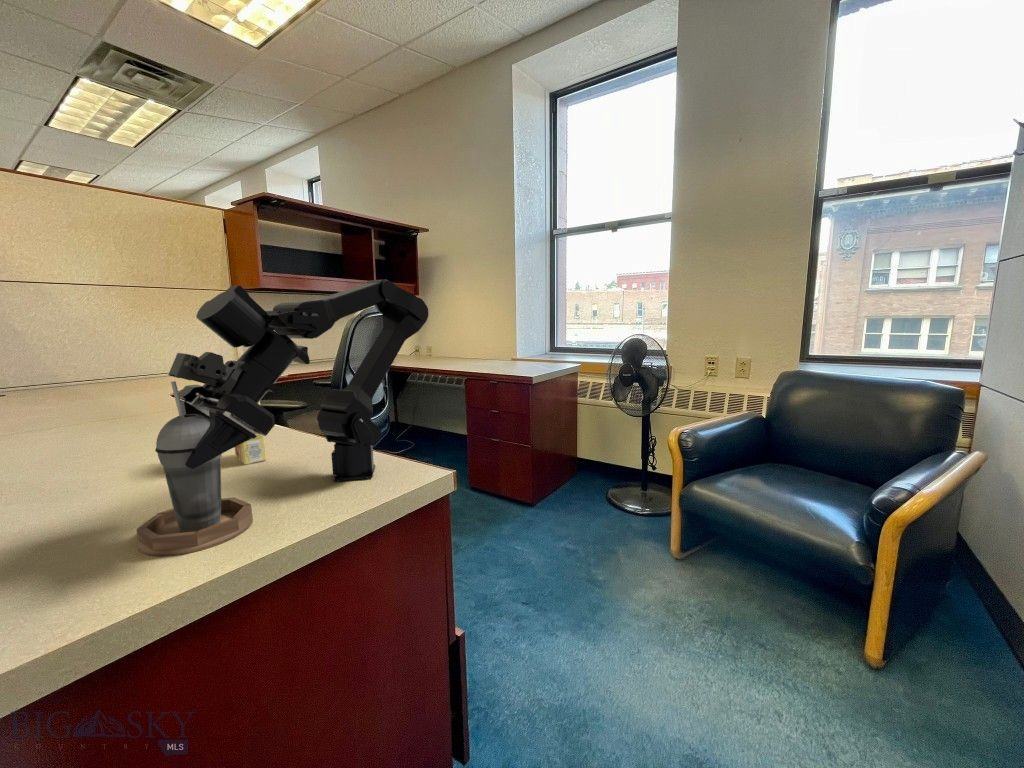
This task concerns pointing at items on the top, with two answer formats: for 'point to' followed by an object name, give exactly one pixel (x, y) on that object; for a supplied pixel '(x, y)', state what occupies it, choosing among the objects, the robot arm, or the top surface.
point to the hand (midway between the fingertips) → (178, 461)
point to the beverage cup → (189, 471)
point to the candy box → (252, 449)
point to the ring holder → (167, 540)
